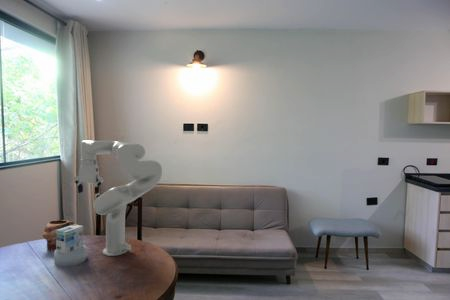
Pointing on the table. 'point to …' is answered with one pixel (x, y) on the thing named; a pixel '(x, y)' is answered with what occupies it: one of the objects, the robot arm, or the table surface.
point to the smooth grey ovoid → (70, 257)
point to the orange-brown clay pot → (54, 232)
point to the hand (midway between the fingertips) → (88, 192)
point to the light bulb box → (69, 238)
